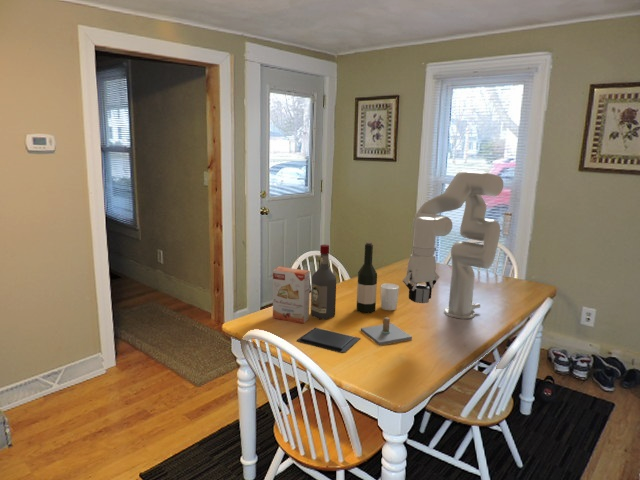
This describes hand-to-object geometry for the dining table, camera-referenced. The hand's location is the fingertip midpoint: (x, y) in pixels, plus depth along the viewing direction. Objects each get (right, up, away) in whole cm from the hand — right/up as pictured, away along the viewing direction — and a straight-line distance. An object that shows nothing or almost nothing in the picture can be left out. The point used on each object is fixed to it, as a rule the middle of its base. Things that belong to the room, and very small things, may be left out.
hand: (419, 298), depth 174 cm
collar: (0, -1, 0) cm, 1 cm away
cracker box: (-49, -11, +20) cm, 54 cm away
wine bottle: (-17, -9, +32) cm, 37 cm away
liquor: (-36, -10, +24) cm, 44 cm away
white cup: (-6, -9, +35) cm, 37 cm away
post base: (-12, -15, +6) cm, 20 cm away
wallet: (-34, -16, +1) cm, 37 cm away
